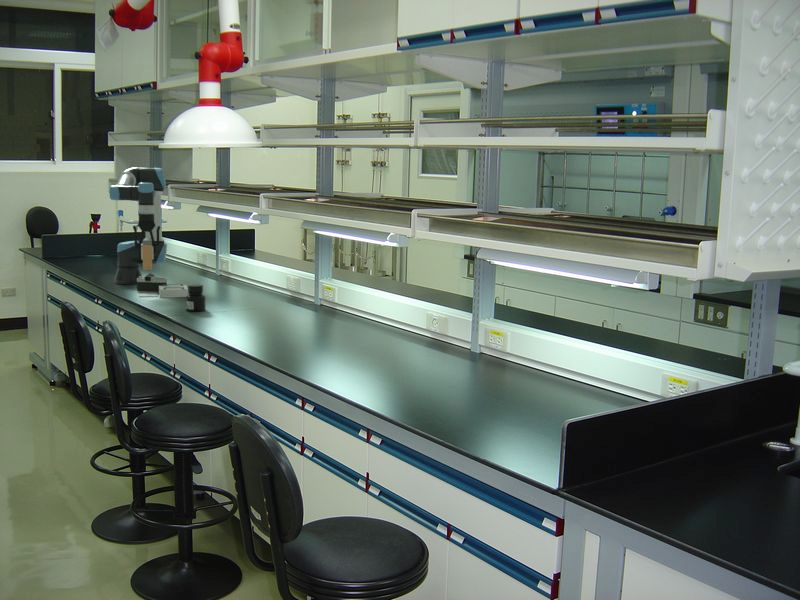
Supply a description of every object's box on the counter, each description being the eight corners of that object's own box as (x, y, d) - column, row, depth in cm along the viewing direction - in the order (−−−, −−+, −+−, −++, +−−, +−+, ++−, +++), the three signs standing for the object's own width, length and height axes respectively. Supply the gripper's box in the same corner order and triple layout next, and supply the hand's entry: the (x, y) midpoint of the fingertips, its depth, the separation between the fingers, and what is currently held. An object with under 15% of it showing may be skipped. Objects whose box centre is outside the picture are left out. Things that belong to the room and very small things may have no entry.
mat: (139, 294, 418) (138, 293, 418) (157, 293, 421) (157, 293, 421) (139, 297, 410) (139, 296, 410) (157, 296, 413) (157, 296, 413)
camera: (170, 291, 432) (170, 272, 431) (165, 293, 424) (165, 274, 422) (141, 289, 433) (140, 271, 431) (135, 292, 424) (135, 273, 423)
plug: (142, 268, 414) (142, 241, 412) (152, 268, 416) (151, 241, 414) (143, 269, 410) (142, 242, 408) (152, 269, 412) (151, 242, 409)
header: (158, 293, 424) (158, 284, 423) (186, 292, 428) (186, 283, 427) (159, 297, 411) (159, 288, 410) (188, 296, 415) (187, 287, 414)
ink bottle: (184, 308, 382) (184, 284, 380) (203, 308, 385) (203, 283, 383) (187, 312, 373) (187, 287, 371) (206, 311, 376) (206, 286, 374)
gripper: (128, 213, 402) (129, 260, 406) (164, 214, 408) (165, 259, 411) (128, 212, 409) (129, 258, 413) (164, 213, 415) (164, 258, 419)
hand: (147, 259), depth 412 cm, fingers closed on plug, 4 cm apart
